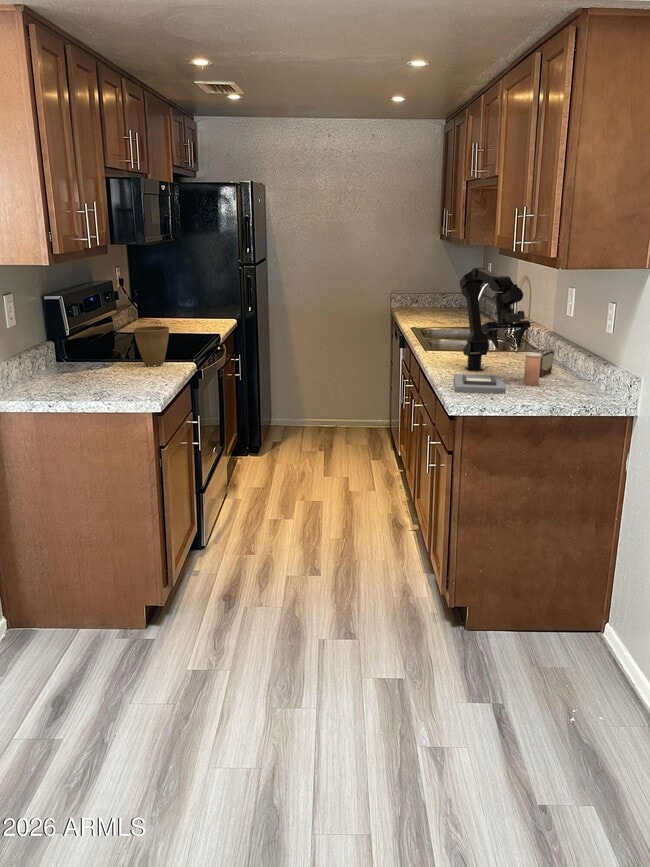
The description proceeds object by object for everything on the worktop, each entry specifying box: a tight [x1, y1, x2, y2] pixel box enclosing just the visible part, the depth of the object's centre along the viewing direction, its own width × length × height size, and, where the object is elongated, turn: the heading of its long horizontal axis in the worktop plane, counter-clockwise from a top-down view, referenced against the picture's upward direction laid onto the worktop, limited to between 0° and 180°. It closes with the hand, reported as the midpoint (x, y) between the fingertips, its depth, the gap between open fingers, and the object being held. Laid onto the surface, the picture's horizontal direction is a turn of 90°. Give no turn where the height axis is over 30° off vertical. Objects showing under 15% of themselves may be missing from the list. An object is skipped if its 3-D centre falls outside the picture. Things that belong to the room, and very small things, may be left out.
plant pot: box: [133, 325, 170, 367], centre depth 319 cm, size 15×15×16 cm
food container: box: [533, 348, 555, 378], centre depth 304 cm, size 12×6×10 cm, turn 141°
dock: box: [453, 373, 507, 394], centre depth 284 cm, size 24×18×3 cm
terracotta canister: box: [523, 351, 541, 387], centre depth 286 cm, size 6×6×12 cm
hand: (508, 348), depth 287 cm, fingers open, 9 cm apart
